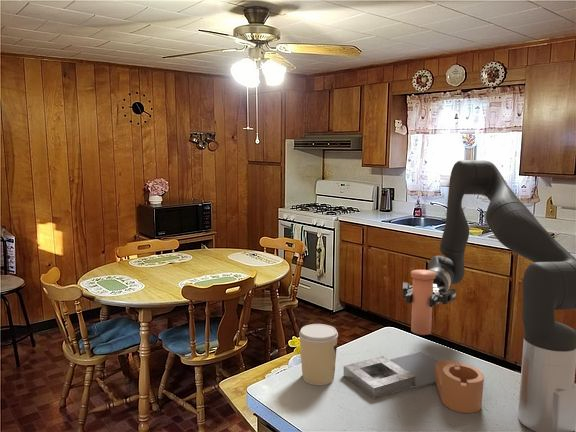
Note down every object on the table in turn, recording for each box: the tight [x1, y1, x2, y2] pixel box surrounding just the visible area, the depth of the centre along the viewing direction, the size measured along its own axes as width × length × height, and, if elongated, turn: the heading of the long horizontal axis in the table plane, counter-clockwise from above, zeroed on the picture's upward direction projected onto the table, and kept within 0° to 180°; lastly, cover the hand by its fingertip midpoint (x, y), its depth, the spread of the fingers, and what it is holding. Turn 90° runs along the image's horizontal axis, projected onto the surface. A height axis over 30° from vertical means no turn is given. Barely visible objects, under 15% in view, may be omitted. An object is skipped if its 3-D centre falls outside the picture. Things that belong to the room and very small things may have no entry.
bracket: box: [435, 359, 485, 414], centre depth 104 cm, size 18×8×7 cm, turn 170°
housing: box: [343, 355, 415, 399], centre depth 109 cm, size 12×12×2 cm
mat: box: [389, 351, 440, 389], centre depth 115 cm, size 14×14×1 cm
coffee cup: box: [298, 323, 339, 386], centre depth 110 cm, size 9×9×12 cm
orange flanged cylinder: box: [410, 269, 436, 336], centre depth 113 cm, size 6×6×15 cm
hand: (419, 301), depth 110 cm, fingers closed on orange flanged cylinder, 4 cm apart
